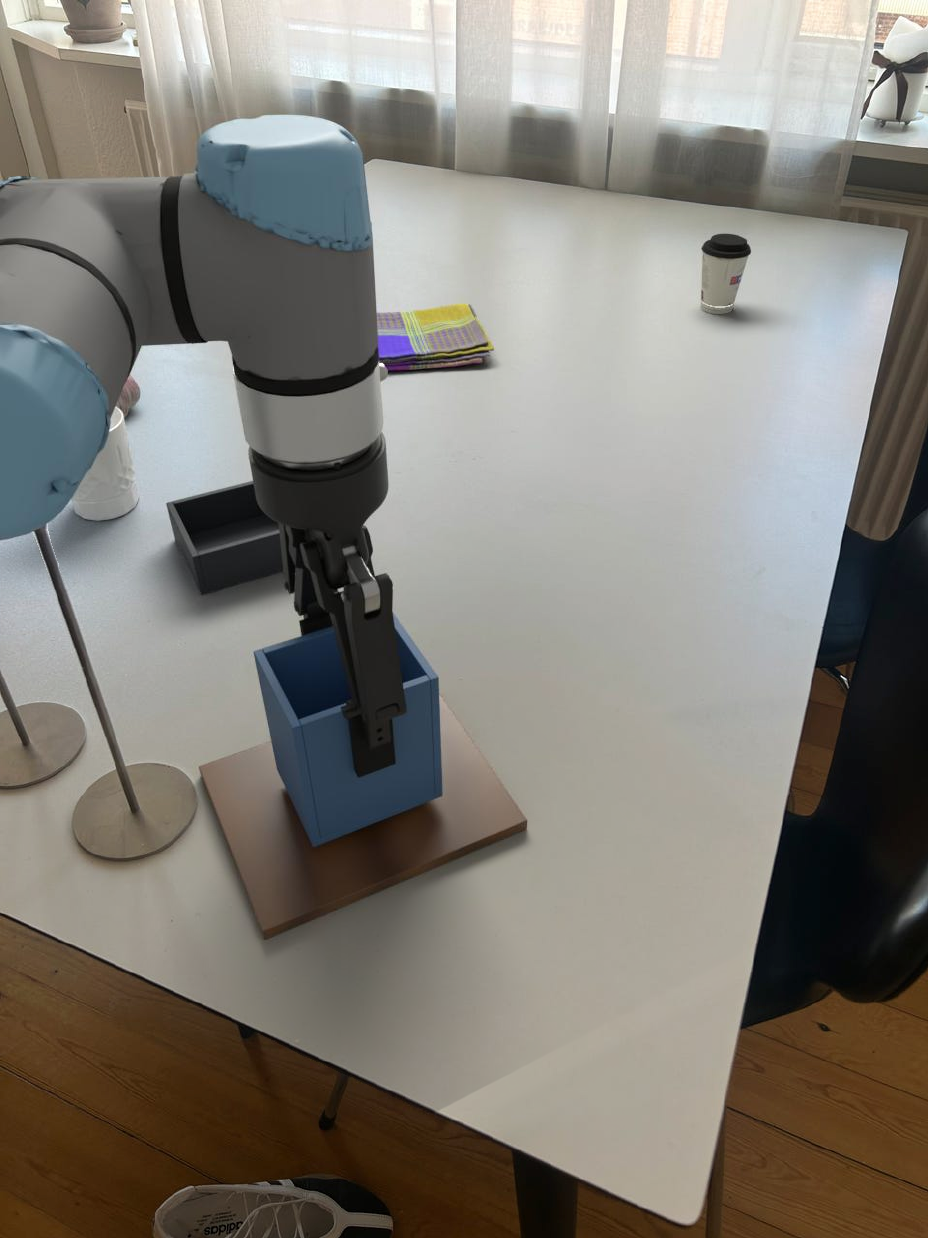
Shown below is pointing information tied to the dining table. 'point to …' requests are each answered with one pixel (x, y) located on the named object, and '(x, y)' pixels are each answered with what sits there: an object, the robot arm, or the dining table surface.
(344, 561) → the robot arm
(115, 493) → the white cup
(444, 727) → the brown wooden flat board
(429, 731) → the blue bin
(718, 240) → the coffee cup
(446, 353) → the dish towel
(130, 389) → the garlic bulb
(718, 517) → the dining table surface
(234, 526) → the charcoal bin
